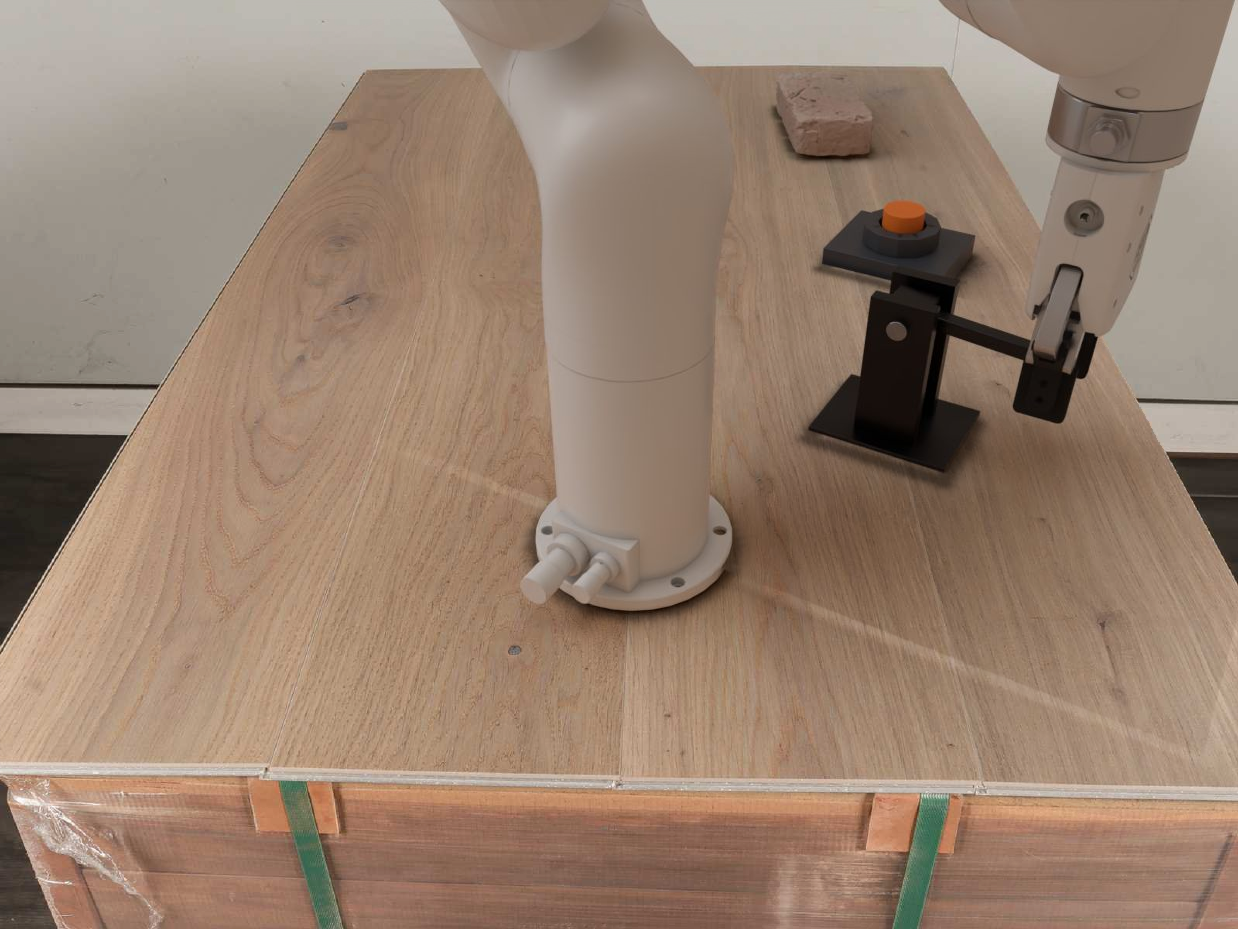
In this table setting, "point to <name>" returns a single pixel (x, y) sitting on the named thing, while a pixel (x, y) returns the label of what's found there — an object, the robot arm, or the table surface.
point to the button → (903, 217)
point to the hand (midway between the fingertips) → (1050, 390)
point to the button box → (897, 248)
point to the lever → (973, 327)
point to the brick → (823, 114)
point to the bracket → (902, 380)
